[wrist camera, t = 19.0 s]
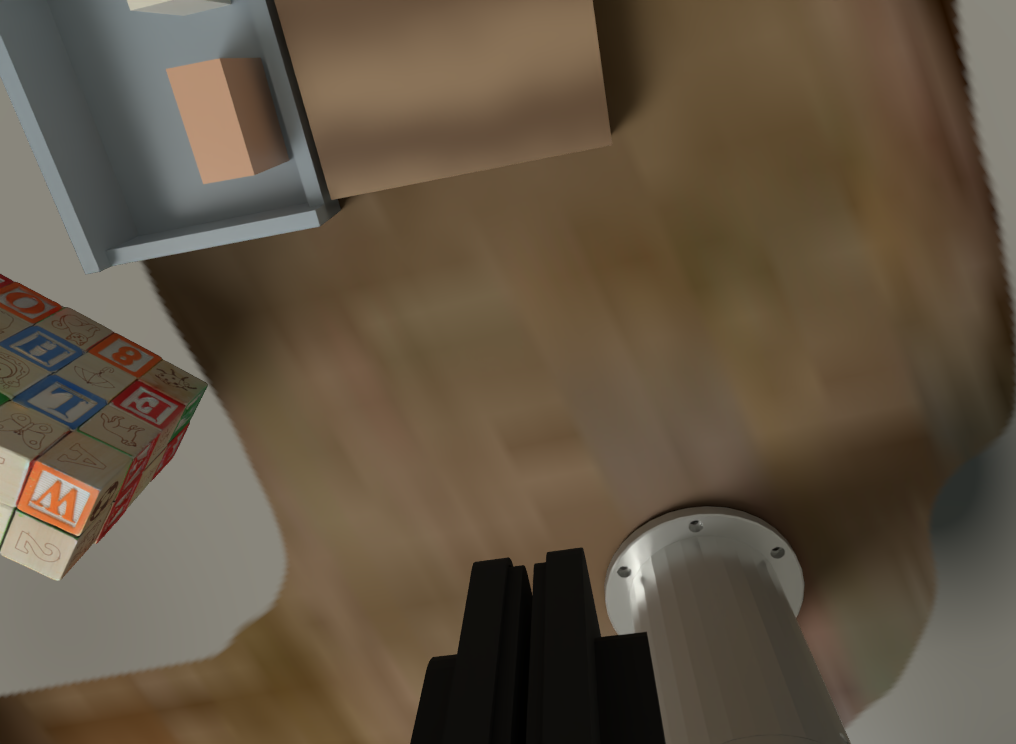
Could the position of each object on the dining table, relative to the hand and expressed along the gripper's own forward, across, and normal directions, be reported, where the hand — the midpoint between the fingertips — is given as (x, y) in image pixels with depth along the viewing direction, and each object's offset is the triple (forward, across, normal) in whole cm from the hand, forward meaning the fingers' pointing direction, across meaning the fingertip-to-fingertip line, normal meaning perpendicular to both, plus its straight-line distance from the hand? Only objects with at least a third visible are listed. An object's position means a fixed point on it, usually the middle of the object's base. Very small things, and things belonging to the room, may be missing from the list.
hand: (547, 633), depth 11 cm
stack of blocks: (+31, +32, 0) cm, 44 cm away
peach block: (+27, +13, -9) cm, 31 cm away
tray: (+30, +17, -12) cm, 37 cm away
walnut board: (+30, +3, -12) cm, 33 cm away
